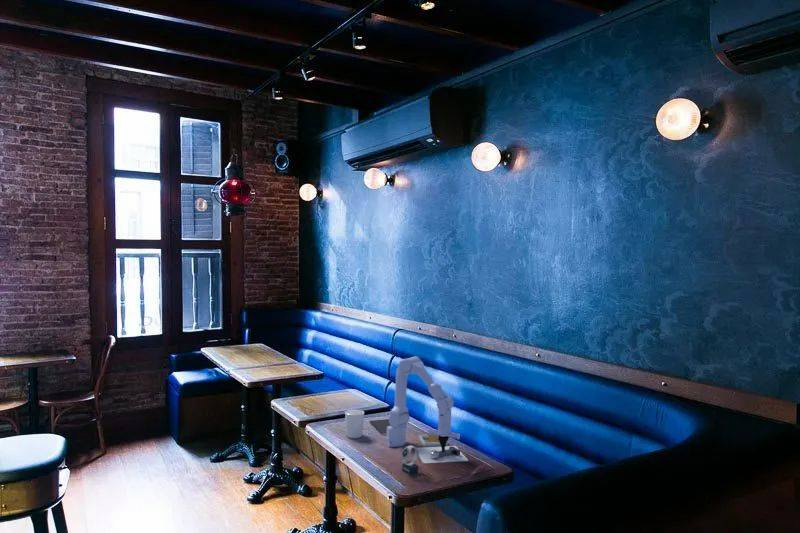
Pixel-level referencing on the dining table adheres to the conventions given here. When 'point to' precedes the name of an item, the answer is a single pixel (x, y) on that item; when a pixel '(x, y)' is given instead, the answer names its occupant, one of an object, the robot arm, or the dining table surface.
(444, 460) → the crank plate
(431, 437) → the block
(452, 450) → the crank
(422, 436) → the parts tray
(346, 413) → the candle holder
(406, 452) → the watch
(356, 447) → the dining table surface
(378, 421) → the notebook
